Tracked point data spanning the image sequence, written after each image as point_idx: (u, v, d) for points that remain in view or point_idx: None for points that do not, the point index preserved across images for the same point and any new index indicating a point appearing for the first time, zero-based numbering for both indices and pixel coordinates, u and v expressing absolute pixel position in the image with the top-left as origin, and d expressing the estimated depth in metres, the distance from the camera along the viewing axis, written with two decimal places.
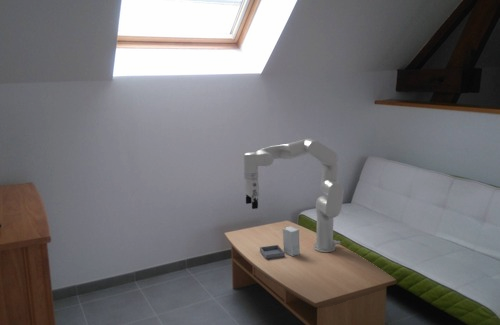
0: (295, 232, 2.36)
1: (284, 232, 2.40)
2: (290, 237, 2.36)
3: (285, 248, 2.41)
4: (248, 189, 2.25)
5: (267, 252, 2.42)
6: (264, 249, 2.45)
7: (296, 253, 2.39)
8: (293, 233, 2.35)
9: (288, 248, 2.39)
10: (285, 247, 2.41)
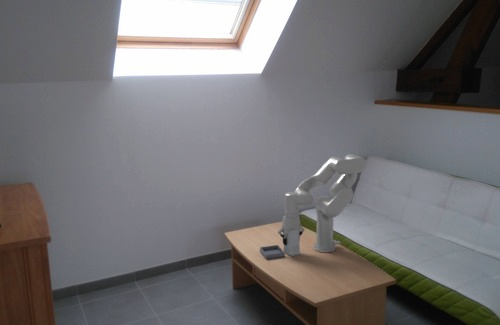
0: (295, 232, 2.36)
1: None
2: (290, 236, 2.36)
3: (285, 248, 2.41)
4: (295, 227, 2.37)
5: (267, 252, 2.42)
6: (264, 249, 2.45)
7: (296, 253, 2.39)
8: (293, 233, 2.35)
9: (288, 248, 2.39)
10: (285, 247, 2.41)
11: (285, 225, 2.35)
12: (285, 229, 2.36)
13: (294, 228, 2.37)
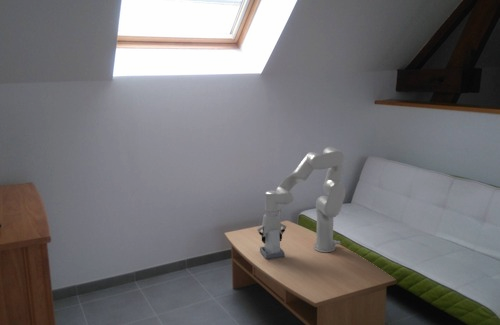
0: (275, 232, 2.35)
1: None
2: (270, 237, 2.35)
3: (266, 248, 2.40)
4: (276, 225, 2.36)
5: None
6: (264, 249, 2.45)
7: None
8: (273, 233, 2.34)
9: (268, 249, 2.38)
10: (266, 247, 2.40)
11: (265, 224, 2.34)
12: (265, 228, 2.34)
13: (274, 227, 2.35)
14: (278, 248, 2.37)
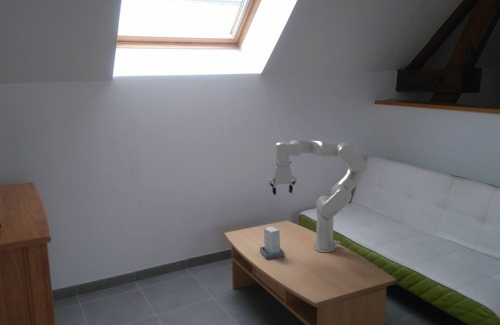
0: (275, 232, 2.35)
1: (265, 232, 2.39)
2: (270, 237, 2.35)
3: (266, 248, 2.40)
4: (287, 177, 2.36)
5: None
6: (264, 249, 2.45)
7: None
8: (273, 233, 2.34)
9: (268, 249, 2.38)
10: (266, 247, 2.40)
11: (276, 175, 2.34)
12: (276, 179, 2.35)
13: (285, 178, 2.36)
14: (278, 248, 2.37)
